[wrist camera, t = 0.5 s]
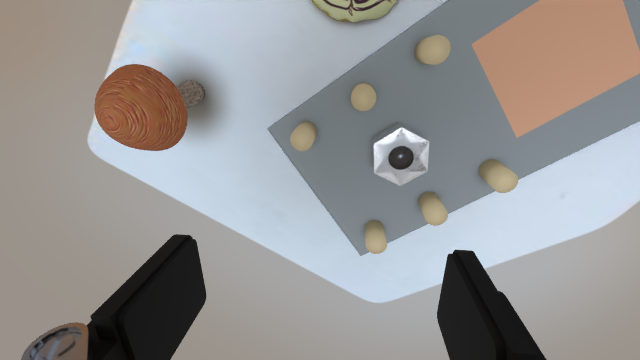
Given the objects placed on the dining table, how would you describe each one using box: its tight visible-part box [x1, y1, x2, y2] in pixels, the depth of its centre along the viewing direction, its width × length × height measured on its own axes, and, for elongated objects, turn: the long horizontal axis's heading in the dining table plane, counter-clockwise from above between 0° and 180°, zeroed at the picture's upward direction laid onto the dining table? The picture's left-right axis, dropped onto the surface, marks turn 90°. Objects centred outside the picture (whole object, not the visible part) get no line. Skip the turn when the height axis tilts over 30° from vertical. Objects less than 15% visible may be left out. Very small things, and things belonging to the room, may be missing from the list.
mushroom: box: [95, 64, 205, 151], centre depth 30 cm, size 8×8×15 cm
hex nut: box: [372, 122, 429, 186], centre depth 35 cm, size 7×6×3 cm
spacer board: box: [268, 0, 640, 256], centre depth 33 cm, size 39×22×4 cm, turn 125°
